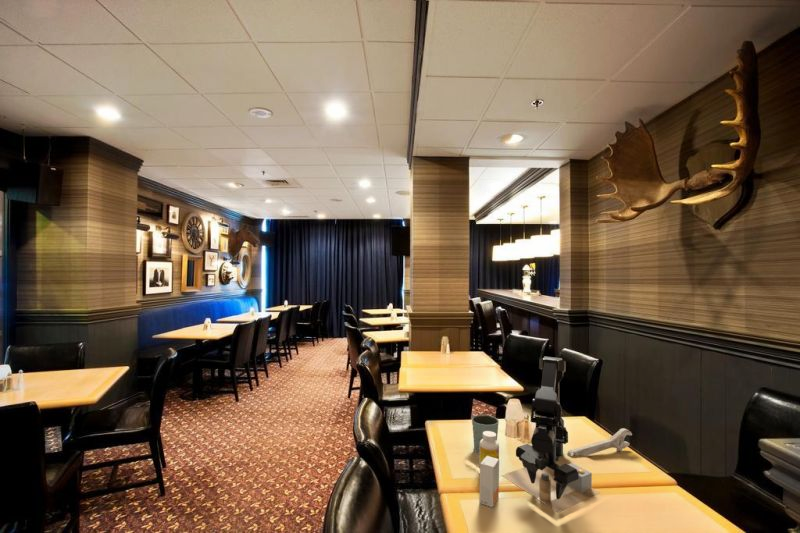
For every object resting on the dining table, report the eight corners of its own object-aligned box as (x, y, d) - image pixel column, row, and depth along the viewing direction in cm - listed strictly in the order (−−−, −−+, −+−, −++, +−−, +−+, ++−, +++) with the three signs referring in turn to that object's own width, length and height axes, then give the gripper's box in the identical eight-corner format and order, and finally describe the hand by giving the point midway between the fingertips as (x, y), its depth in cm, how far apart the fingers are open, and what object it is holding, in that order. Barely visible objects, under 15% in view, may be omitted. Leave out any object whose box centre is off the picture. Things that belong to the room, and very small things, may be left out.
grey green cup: (501, 448, 148) (502, 418, 148) (493, 459, 139) (493, 426, 139) (477, 442, 153) (477, 412, 153) (467, 452, 145) (467, 420, 145)
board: (542, 464, 136) (542, 461, 136) (600, 496, 117) (600, 492, 117) (501, 478, 126) (501, 475, 126) (557, 516, 107) (557, 512, 107)
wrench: (568, 465, 141) (629, 446, 150) (571, 468, 140) (633, 448, 148) (566, 444, 141) (627, 426, 150) (569, 446, 139) (631, 428, 148)
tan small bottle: (544, 494, 115) (544, 471, 116) (553, 500, 113) (553, 476, 113) (537, 497, 114) (537, 473, 114) (545, 503, 111) (545, 479, 111)
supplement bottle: (499, 476, 127) (499, 438, 128) (479, 474, 129) (479, 436, 129) (498, 466, 134) (498, 430, 134) (479, 464, 135) (479, 428, 136)
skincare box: (492, 508, 110) (493, 467, 111) (479, 503, 113) (479, 463, 113) (499, 497, 116) (499, 458, 116) (485, 493, 118) (486, 455, 118)
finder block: (571, 478, 125) (571, 461, 125) (591, 488, 119) (591, 471, 119) (562, 482, 123) (562, 465, 123) (581, 493, 116) (581, 475, 117)
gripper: (503, 432, 118) (502, 482, 117) (554, 458, 101) (553, 516, 101) (528, 425, 123) (527, 473, 123) (580, 449, 107) (579, 504, 107)
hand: (545, 490), depth 113 cm, fingers open, 9 cm apart
